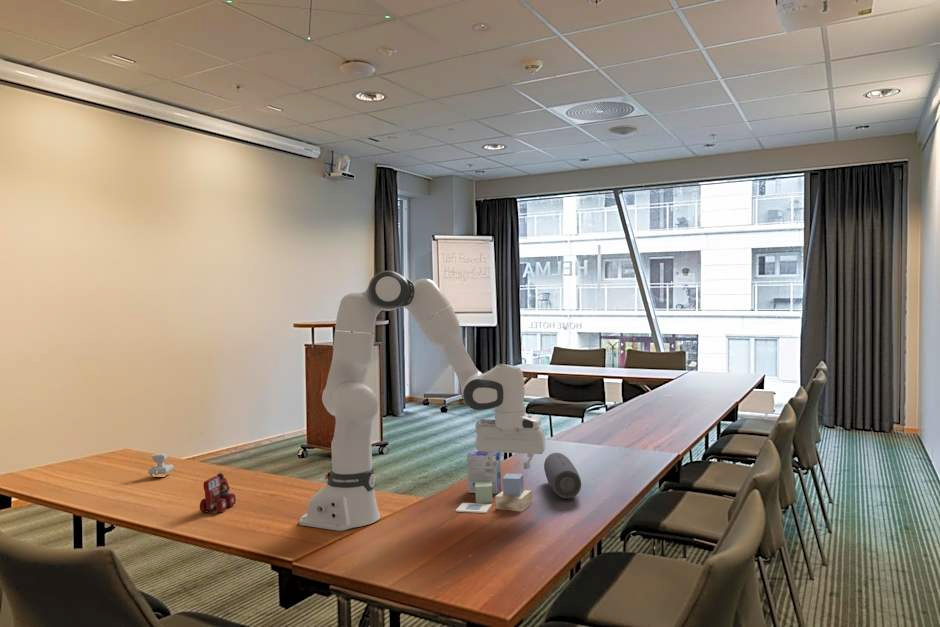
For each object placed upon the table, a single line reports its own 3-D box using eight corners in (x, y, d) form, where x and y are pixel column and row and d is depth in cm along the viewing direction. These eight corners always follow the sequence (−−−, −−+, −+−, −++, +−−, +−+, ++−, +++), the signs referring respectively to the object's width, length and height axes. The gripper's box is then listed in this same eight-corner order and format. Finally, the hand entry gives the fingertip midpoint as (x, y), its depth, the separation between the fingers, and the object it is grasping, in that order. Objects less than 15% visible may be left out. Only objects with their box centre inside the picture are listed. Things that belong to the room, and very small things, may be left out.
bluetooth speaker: (584, 502, 189) (582, 468, 188) (552, 503, 189) (551, 469, 188) (571, 480, 211) (570, 450, 211) (543, 481, 211) (541, 451, 211)
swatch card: (455, 511, 185) (455, 509, 185) (462, 504, 191) (462, 502, 191) (486, 513, 182) (486, 511, 182) (492, 505, 189) (491, 503, 189)
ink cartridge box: (502, 489, 205) (500, 443, 205) (498, 494, 200) (496, 447, 199) (472, 488, 207) (470, 443, 207) (467, 493, 202) (465, 447, 202)
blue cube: (503, 495, 186) (502, 478, 186) (507, 490, 191) (506, 473, 191) (520, 496, 185) (519, 478, 185) (523, 491, 189) (523, 474, 189)
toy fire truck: (239, 502, 203) (237, 470, 203) (218, 516, 191) (216, 481, 190) (218, 502, 204) (217, 470, 204) (196, 515, 192) (194, 481, 191)
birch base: (496, 509, 186) (495, 496, 186) (506, 501, 193) (506, 488, 193) (522, 512, 182) (521, 498, 182) (532, 504, 190) (531, 490, 190)
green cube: (475, 503, 192) (475, 486, 192) (476, 498, 197) (475, 482, 197) (492, 502, 192) (492, 486, 192) (492, 497, 197) (491, 481, 197)
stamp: (165, 479, 236) (164, 456, 236) (146, 480, 235) (145, 457, 235) (175, 473, 245) (174, 450, 245) (157, 474, 244) (156, 451, 244)
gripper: (472, 420, 187) (473, 468, 187) (542, 423, 181) (543, 472, 181) (478, 417, 193) (479, 463, 193) (546, 419, 187) (547, 466, 187)
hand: (510, 467), depth 187 cm, fingers open, 8 cm apart
